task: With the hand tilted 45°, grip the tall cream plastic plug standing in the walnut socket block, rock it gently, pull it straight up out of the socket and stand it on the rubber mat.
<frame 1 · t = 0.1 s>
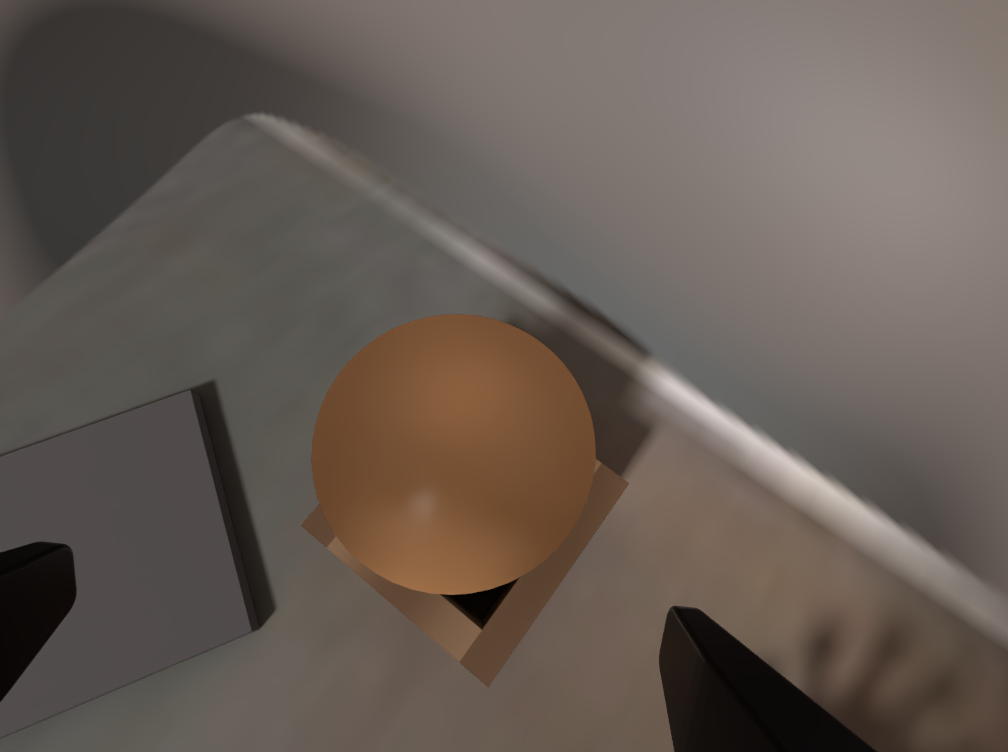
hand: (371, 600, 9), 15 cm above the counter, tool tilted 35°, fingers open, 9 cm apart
plug: (465, 491, 17), in the socket block
socket block: (470, 512, 23), on the counter
mat: (100, 554, 22), on the counter
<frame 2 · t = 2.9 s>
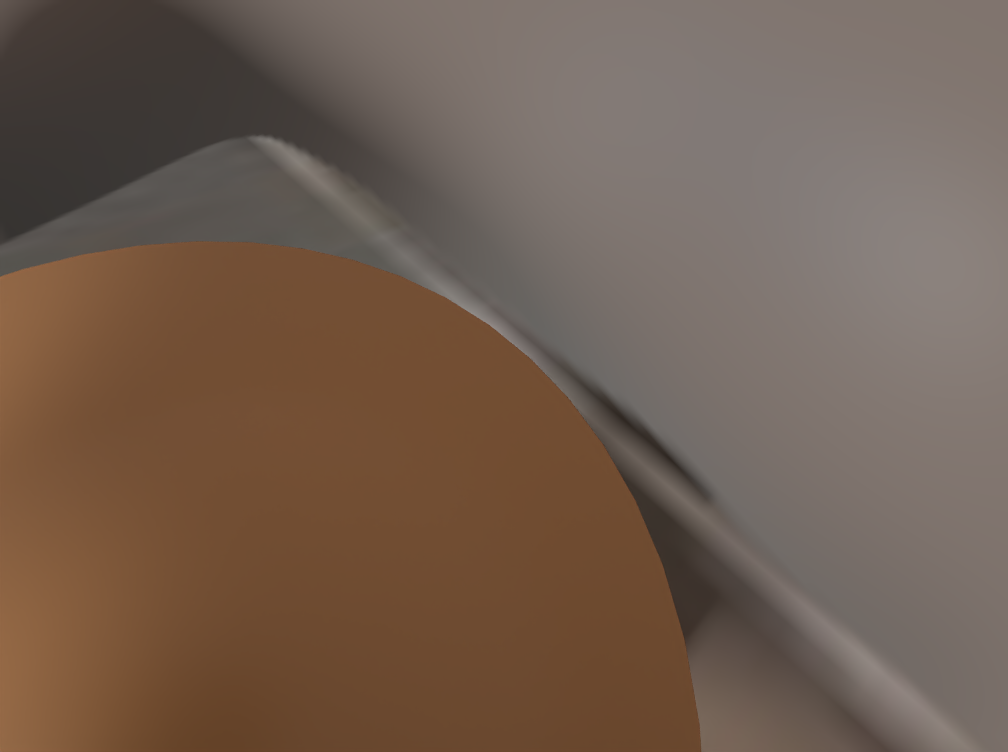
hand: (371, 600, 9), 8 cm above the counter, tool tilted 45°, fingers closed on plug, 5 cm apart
plug: (359, 707, 8), in the socket block, touching gripper
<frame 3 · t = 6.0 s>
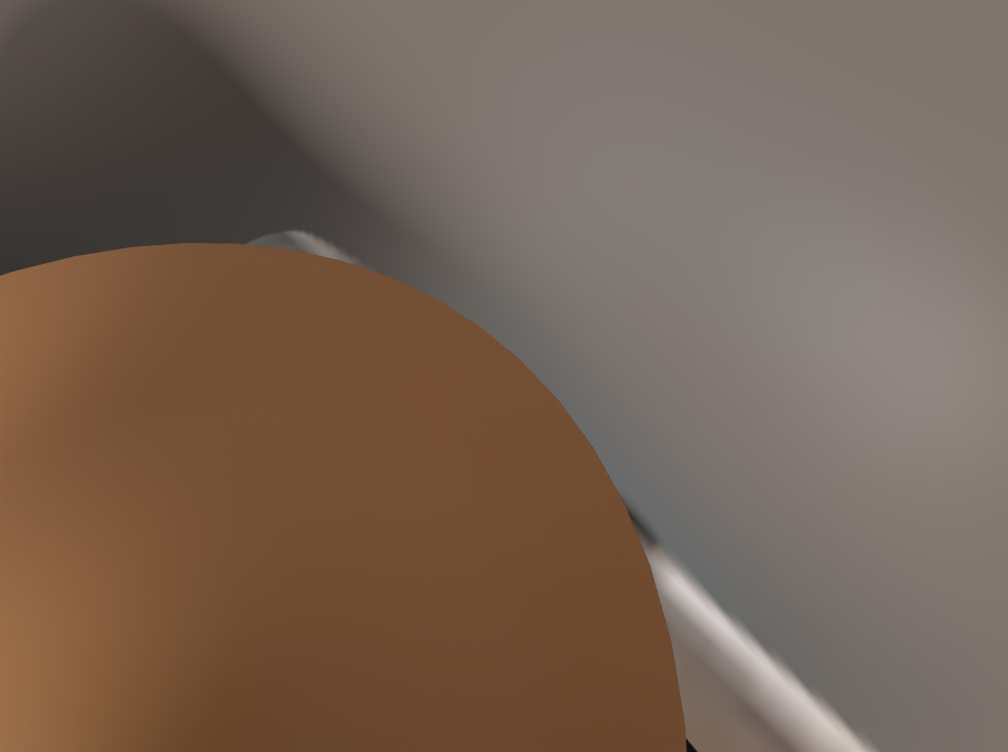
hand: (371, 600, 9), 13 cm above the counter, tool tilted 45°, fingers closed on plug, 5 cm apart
plug: (357, 707, 8), point 13 cm above the counter, touching gripper
when the fingers open (10 cm above the counter, at t = 8.9 s): plug drops 1 cm, resting on mat.
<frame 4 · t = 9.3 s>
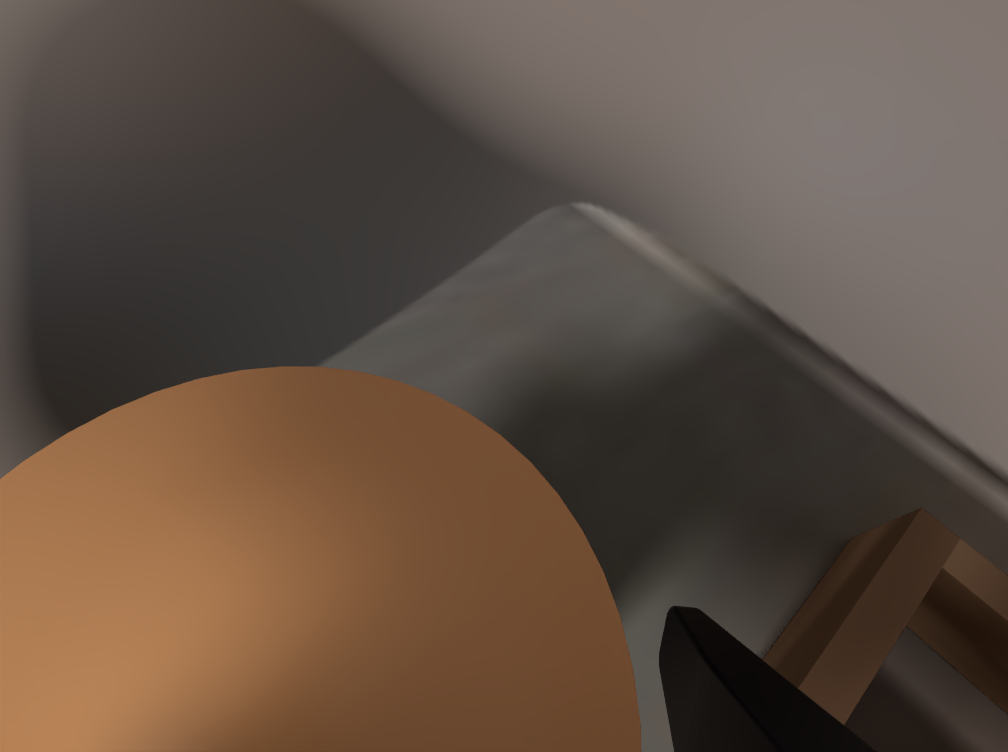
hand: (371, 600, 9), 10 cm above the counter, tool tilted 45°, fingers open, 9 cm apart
plug: (375, 710, 10), on the mat, point 8 cm above the counter
socket block: (905, 737, 17), on the counter
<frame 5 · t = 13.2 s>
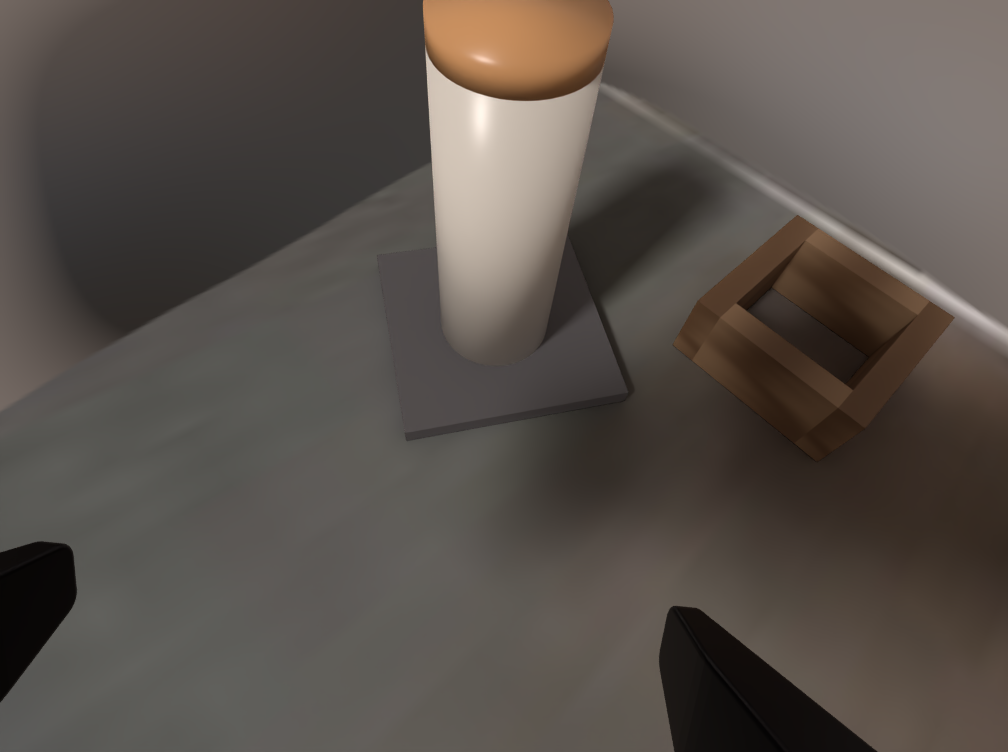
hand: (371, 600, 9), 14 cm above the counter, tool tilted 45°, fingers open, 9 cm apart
plug: (503, 209, 21), on the mat, point 8 cm above the counter
socket block: (788, 352, 28), on the counter
mat: (494, 329, 28), on the counter
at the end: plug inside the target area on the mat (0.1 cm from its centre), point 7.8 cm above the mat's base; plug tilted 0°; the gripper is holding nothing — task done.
